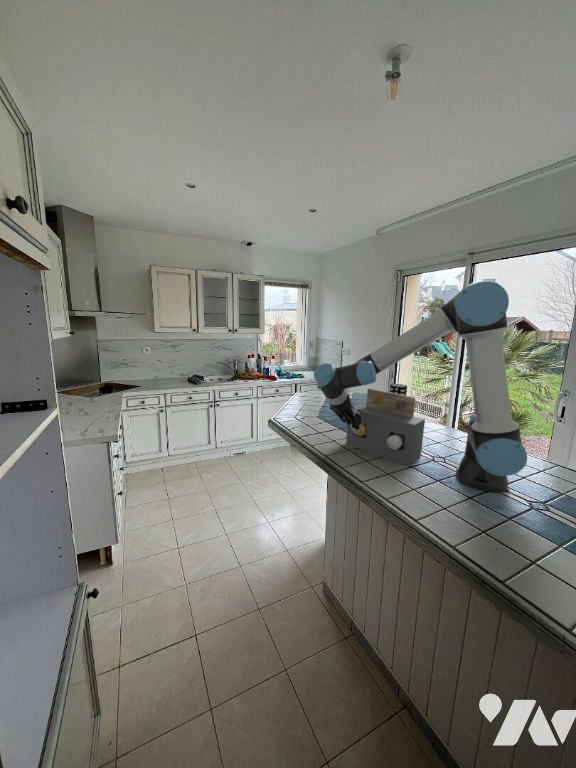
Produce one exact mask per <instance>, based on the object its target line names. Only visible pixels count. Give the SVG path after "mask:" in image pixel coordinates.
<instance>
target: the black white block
mask: <svg viewBox="0 0 576 768" xmlns="http://www.w3.org/2000/svg"><path fill="white" fill-rule="evenodd" d="M407 392H408V385H406V384H403V383H402V384H401V383H391V384H390V385H389V393H394V394H400V395H405V396H407Z"/></svg>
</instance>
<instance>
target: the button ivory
mask: <svg viewBox="0 0 576 768" xmlns="http://www.w3.org/2000/svg"><path fill="white" fill-rule="evenodd" d="M403 443H404V441H403V438H402V437H401V436H400V435H398V434H394V435H392V436H390V437H389V438H388V439H387V445H388V447H389V448H391V449H393V450H396V449H398V448H399V447H401V446H402V445H403Z"/></svg>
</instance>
